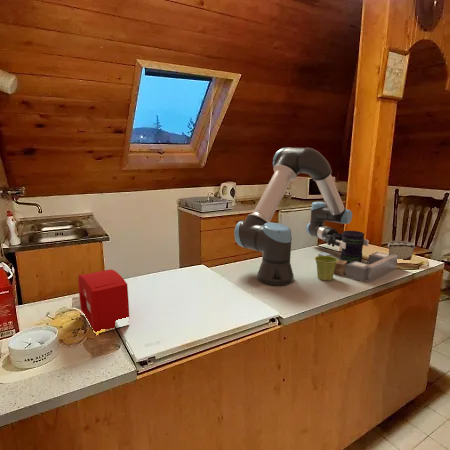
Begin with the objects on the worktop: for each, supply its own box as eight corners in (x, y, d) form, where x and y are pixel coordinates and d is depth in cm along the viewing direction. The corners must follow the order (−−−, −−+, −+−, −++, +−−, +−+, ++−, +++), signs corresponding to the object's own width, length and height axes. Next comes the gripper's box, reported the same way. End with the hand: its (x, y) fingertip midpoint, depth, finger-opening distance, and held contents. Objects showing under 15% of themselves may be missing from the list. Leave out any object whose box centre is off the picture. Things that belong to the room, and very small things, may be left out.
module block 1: (345, 276, 149) (346, 263, 147) (353, 272, 153) (354, 260, 152) (363, 281, 143) (364, 268, 142) (371, 277, 147) (372, 264, 146)
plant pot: (308, 277, 148) (310, 258, 146) (322, 272, 153) (324, 254, 151) (327, 284, 140) (328, 263, 138) (340, 279, 146) (342, 259, 144)
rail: (365, 280, 144) (367, 265, 143) (391, 267, 160) (393, 254, 159) (370, 281, 143) (371, 267, 141) (396, 268, 159) (397, 255, 157)
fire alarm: (81, 315, 114) (76, 272, 110) (113, 307, 120) (110, 266, 116) (94, 337, 101) (90, 289, 97) (130, 326, 107) (127, 281, 103)
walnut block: (331, 273, 153) (331, 262, 152) (335, 269, 158) (335, 259, 156) (342, 275, 150) (343, 264, 149) (346, 271, 155) (347, 261, 154)
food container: (407, 260, 171) (410, 240, 168) (413, 264, 165) (415, 244, 162) (382, 259, 172) (384, 240, 170) (386, 263, 166) (388, 243, 164)
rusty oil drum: (343, 258, 173) (346, 229, 170) (364, 262, 167) (366, 232, 164) (337, 263, 165) (339, 233, 162) (358, 267, 160) (361, 236, 156)
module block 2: (367, 266, 162) (369, 254, 160) (375, 262, 167) (377, 251, 165) (384, 270, 156) (386, 258, 154) (392, 266, 161) (393, 255, 160)
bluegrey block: (317, 265, 162) (318, 253, 161) (323, 264, 164) (324, 252, 163) (323, 268, 159) (324, 255, 158) (330, 266, 161) (330, 254, 160)
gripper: (346, 239, 186) (376, 249, 167) (307, 243, 177) (334, 255, 158) (347, 225, 185) (377, 234, 165) (308, 229, 176) (335, 239, 156)
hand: (356, 244), depth 162 cm, fingers open, 13 cm apart
